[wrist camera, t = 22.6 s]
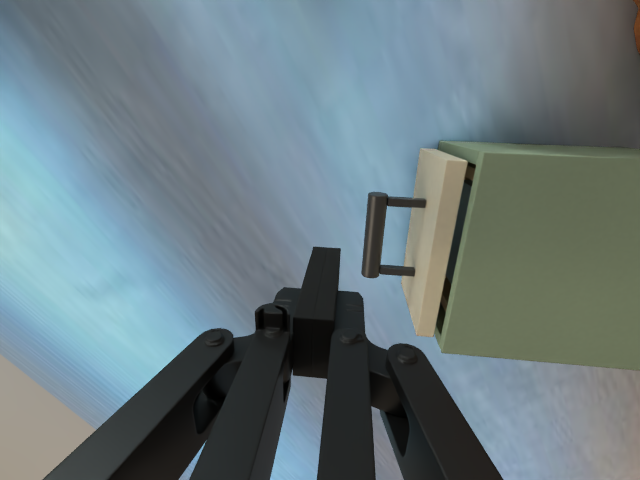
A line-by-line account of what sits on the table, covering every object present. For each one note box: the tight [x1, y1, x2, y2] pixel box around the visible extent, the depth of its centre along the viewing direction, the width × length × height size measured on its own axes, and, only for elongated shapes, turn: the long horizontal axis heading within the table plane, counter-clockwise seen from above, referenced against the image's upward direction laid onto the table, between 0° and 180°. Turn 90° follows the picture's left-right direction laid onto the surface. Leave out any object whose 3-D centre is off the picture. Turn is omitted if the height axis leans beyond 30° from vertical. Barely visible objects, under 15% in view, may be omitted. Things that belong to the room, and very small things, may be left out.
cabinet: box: [434, 141, 640, 370], centre depth 24 cm, size 15×14×10 cm
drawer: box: [361, 148, 476, 337], centre depth 24 cm, size 18×12×8 cm
